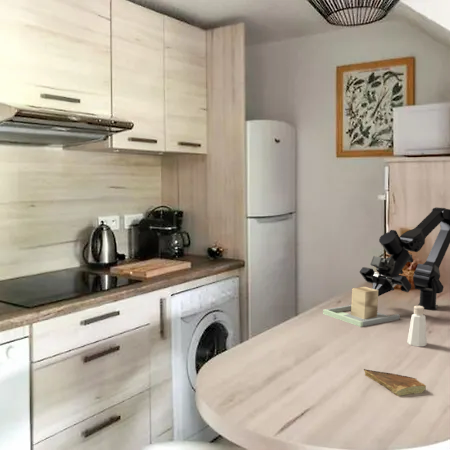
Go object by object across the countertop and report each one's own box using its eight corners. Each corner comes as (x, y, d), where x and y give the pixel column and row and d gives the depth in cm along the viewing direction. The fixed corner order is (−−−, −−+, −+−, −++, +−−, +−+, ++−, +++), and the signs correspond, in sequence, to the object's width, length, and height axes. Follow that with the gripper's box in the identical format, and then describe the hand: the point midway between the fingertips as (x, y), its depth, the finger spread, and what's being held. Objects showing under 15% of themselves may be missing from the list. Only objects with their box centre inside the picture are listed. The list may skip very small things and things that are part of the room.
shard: (362, 376, 131) (363, 367, 131) (395, 372, 134) (395, 364, 133) (395, 398, 118) (396, 388, 118) (430, 393, 121) (431, 384, 121)
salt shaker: (428, 347, 151) (430, 309, 150) (408, 345, 153) (410, 308, 151) (425, 341, 157) (427, 304, 156) (405, 340, 158) (407, 303, 157)
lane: (360, 310, 190) (361, 303, 190) (399, 322, 176) (399, 314, 176) (322, 317, 181) (323, 309, 180) (360, 330, 166) (360, 322, 166)
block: (363, 312, 183) (364, 286, 182) (377, 316, 178) (378, 290, 177) (350, 314, 180) (352, 288, 179) (364, 319, 175) (365, 292, 174)
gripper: (364, 244, 189) (340, 277, 184) (407, 251, 173) (382, 288, 169) (378, 264, 194) (355, 297, 189) (422, 273, 178) (397, 310, 174)
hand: (371, 298), depth 180 cm, fingers closed
